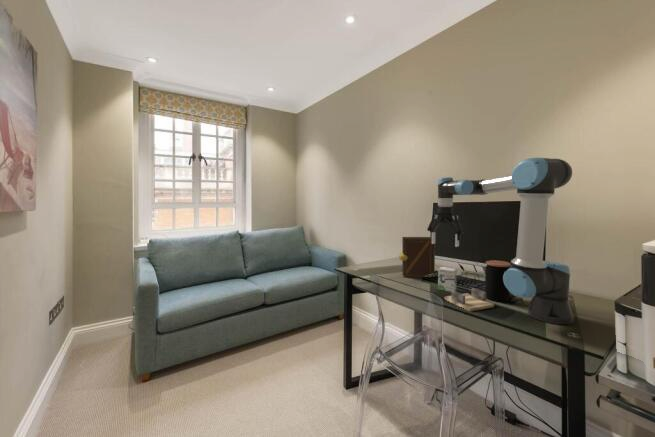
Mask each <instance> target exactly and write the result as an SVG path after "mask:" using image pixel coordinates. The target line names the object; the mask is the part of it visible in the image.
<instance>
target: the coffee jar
mask: <svg viewBox="0 0 655 437" xmlns="http://www.w3.org/2000/svg"><path fill="white" fill-rule="evenodd" d="M508 269H511V262H508V261H504V260H492V259H491V260H485V273H484V274H485V275H484V276H485V277H484V278H485V280H484V281H485V283H484V292H486V299H488V300H490V301H492V302H498V303H500V302H501V303H504V302H508V301H509V300H510V298H511V293H510V292H509V291H508V289H507V288H506V287H505V284H504V281H503V275H504V273H505V271H507V270H508Z"/></svg>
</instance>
